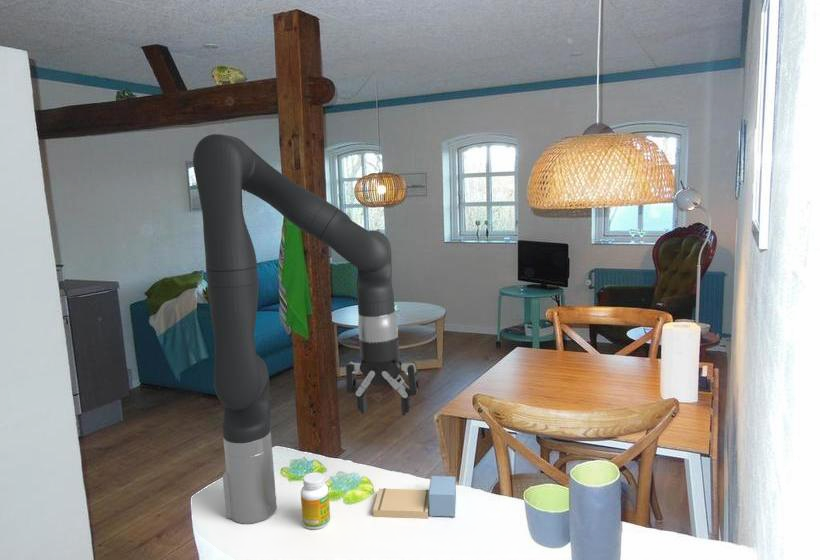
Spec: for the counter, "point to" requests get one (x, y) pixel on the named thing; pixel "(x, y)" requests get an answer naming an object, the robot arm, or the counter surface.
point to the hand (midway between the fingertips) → (384, 412)
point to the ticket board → (402, 503)
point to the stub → (442, 496)
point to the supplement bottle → (315, 501)
